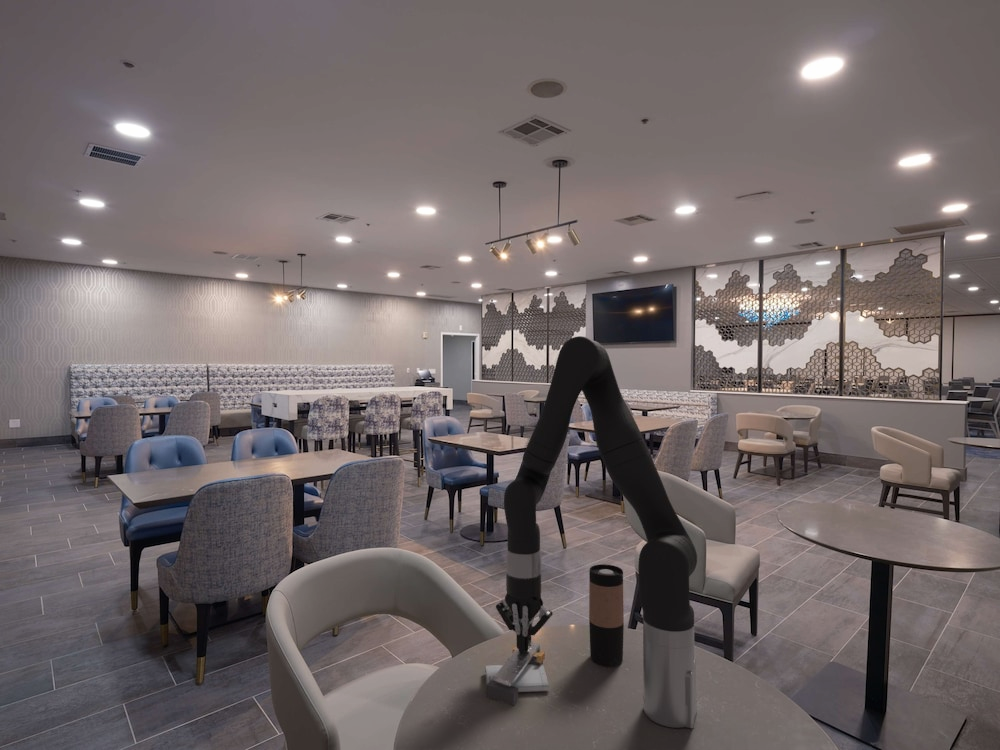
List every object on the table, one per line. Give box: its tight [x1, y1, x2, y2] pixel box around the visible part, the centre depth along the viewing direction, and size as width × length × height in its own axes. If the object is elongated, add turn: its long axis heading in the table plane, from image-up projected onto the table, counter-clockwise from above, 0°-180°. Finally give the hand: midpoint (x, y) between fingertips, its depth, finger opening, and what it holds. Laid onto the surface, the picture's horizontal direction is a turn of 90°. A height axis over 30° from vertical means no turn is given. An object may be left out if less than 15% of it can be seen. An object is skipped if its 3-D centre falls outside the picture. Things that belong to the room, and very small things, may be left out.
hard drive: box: [484, 663, 550, 693], centre depth 110 cm, size 2×8×12 cm
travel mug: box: [588, 563, 625, 668], centre depth 120 cm, size 8×8×20 cm
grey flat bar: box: [492, 641, 541, 687], centre depth 111 cm, size 4×15×2 cm, turn 153°
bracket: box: [486, 644, 546, 707], centre depth 110 cm, size 7×15×4 cm, turn 153°
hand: (523, 651), depth 114 cm, fingers closed
